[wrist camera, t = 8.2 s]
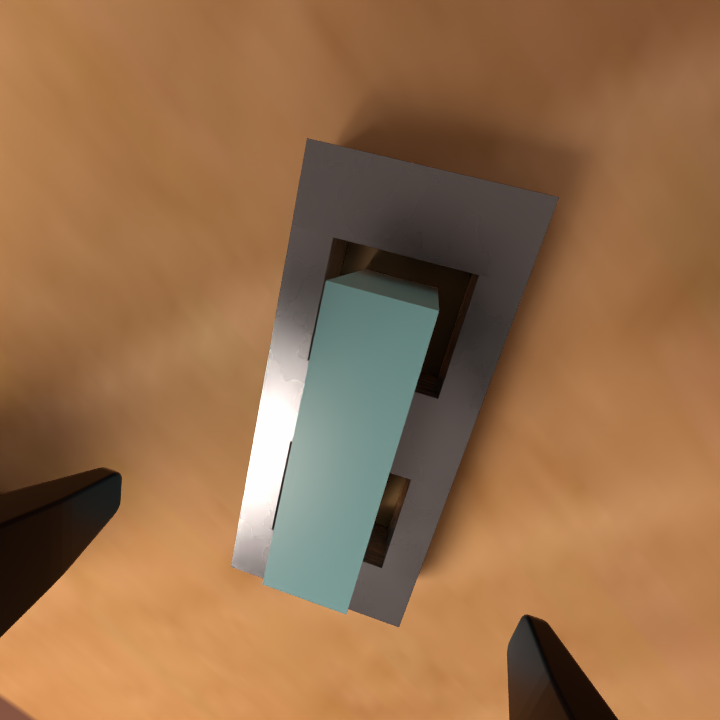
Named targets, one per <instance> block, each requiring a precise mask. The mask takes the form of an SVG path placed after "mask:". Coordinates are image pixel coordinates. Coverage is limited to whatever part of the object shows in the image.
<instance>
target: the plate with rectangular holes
mask: <svg viewBox="0 0 720 720" xmlns="http://www.w3.org/2000/svg"><path fill="white" fill-rule="evenodd" d="M558 199H559V197H556V196H552V195H547V194H543V193H539V192H535V191H530V190H526V189H522V188H518V187H513V186H509V185H505V184H500V183H496V182H492V181H488V180H483V179H479V178H475V177H471V176H466V175H462V174H458V173H453V172H449V171H445V170H441V169H436V168H432V167H428V166H423V165H419V164H415V163H411V162H406V161H402V160H398V159H394V158H389V157H385V156H381V155H376V154H372V153H368V152H364V151H359V150H355V149H351V148H347V147H342V146H338V145H334V144H329V143H325V142H321V141H317V140H312V139H308V138H307V142H306V148H305V154H304V159H303V165H302V170H301V176H300V182H299V187H298V193H297V199H296V204H295V210H294V215H293V221H292V227H291V232H290V238H289V244H288V249H287V255H286V260H285V266H284V272H283V277H282V283H281V289H280V294H279V300H278V305H277V311H276V317H275V322H274V328H273V334H272V339H271V345H270V350H269V356H268V362H267V367H266V373H265V379H264V384H263V390H262V395H261V401H260V407H259V412H258V418H257V424H256V429H255V435H254V441H253V446H252V452H251V457H250V463H249V469H248V474H247V480H246V486H245V491H244V497H243V502H242V508H241V514H240V519H239V525H238V531H237V536H236V542H235V547H234V553H233V559H232V564H231V567H233V568H236V569H239V570H242V571H244V572H247V573H250V574H253V575H256V576H258V577H261V578H264V574H265V569H266V565H267V560H268V555H269V550H270V545H271V541H272V536H273V531H274V526H275V522H276V517H277V512H278V507H279V502H280V498H281V493H282V488H283V483H284V479H285V474H286V469H287V464H288V459H289V455H290V450H291V445H292V440H293V436H294V431H295V426H296V421H297V417H298V412H299V407H300V402H301V397H302V393H303V388H304V383H305V378H306V374H307V369H308V364H309V359H310V354H311V350H312V345H313V340H314V335H315V331H316V326H317V321H318V316H319V311H320V307H321V302H322V297H323V292H324V288H325V283H326V280H329V279H333V278H336V277H340V275H341V271H342V266H343V262H344V257H345V253H346V248H347V244H348V241H349V242H353V243H357V244H361V245H365V246H369V247H372V248H376V249H380V250H384V251H388V252H392V253H396V254H399V255H403V256H407V257H411V258H415V259H419V260H422V261H426V262H430V263H434V264H438V265H442V266H446V267H449V268H453V269H457V270H461V271H465V272H469V273H472V274H471V277H470V280H469V283H468V286H467V289H466V292H465V295H464V298H463V302H462V305H461V308H460V311H459V314H458V317H457V320H456V323H455V326H454V329H453V332H452V335H451V338H450V341H449V344H448V348H447V351H446V354H445V357H444V360H443V363H442V366H441V369H440V372H439V375H438V377H435V376H431V375H428V374H424V373H421V372H420V375H419V378H418V382H417V385H416V388H415V391H414V395H413V398H412V401H411V405H410V408H409V411H408V414H407V418H406V421H405V424H404V427H403V431H402V434H401V437H400V440H399V444H398V447H397V450H396V454H395V457H394V460H393V463H392V467H391V470H390V473H392V474H395V475H398V476H401V477H404V478H405V479H404V483H403V486H402V489H401V492H400V495H399V498H398V501H397V504H396V507H395V510H394V513H393V516H392V519H391V522H390V526H389V528H386V527H383V526H380V525H377V524H374V525H373V529H372V532H371V535H370V539H369V542H368V545H367V548H366V552H365V555H364V558H363V561H362V565H361V568H360V571H359V574H358V578H357V581H356V584H355V588H354V591H353V594H352V597H351V601H350V604H349V607H348V609H350V610H352V611H355V612H358V613H361V614H364V615H366V616H369V617H372V618H375V619H377V620H380V621H383V622H386V623H388V624H391V625H394V626H397V627H399V626H400V623H401V620H402V618H403V615H404V612H405V610H406V607H407V604H408V602H409V599H410V596H411V593H412V591H413V588H414V585H415V583H416V580H417V577H418V575H419V572H420V569H421V567H422V564H423V561H424V559H425V556H426V553H427V551H428V548H429V545H430V542H431V540H432V537H433V534H434V532H435V529H436V526H437V524H438V521H439V518H440V516H441V513H442V510H443V508H444V505H445V502H446V499H447V497H448V494H449V491H450V489H451V486H452V483H453V481H454V478H455V475H456V473H457V470H458V467H459V465H460V462H461V459H462V457H463V454H464V451H465V448H466V446H467V443H468V440H469V438H470V435H471V432H472V430H473V427H474V424H475V422H476V419H477V416H478V414H479V411H480V408H481V405H482V403H483V400H484V397H485V395H486V392H487V389H488V387H489V384H490V381H491V379H492V376H493V373H494V371H495V368H496V365H497V363H498V360H499V357H500V354H501V352H502V349H503V346H504V344H505V341H506V338H507V336H508V333H509V330H510V328H511V325H512V322H513V320H514V317H515V314H516V311H517V309H518V306H519V303H520V301H521V298H522V295H523V293H524V290H525V287H526V285H527V282H528V279H529V277H530V274H531V271H532V268H533V266H534V263H535V260H536V258H537V255H538V252H539V250H540V247H541V244H542V242H543V239H544V236H545V234H546V231H547V228H548V226H549V223H550V220H551V217H552V215H553V212H554V209H555V207H556V204H557V201H558Z"/></svg>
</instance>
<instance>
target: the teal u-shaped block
mask: <svg viewBox="0 0 720 720" xmlns="http://www.w3.org/2000/svg"><path fill="white" fill-rule="evenodd" d="M438 313H439V301H438V288H435V287H432V286H428V285H424V284H420V283H416V282H413V281H409V280H405V279H401V278H397V277H394V276H390V275H386V274H382V273H378V272H374V271H371V270H367V269H363V270H360V271H357V272H353V273H350V274H346V275H343V276H340V277H336V278H333V279H329V280H326V283H325V288H324V292H323V297H322V302H321V307H320V311H319V316H318V321H317V326H316V331H315V335H314V340H313V345H312V350H311V354H310V359H309V364H308V369H307V374H306V378H305V383H304V388H303V393H302V397H301V402H300V407H299V412H298V417H297V421H296V426H295V431H294V436H293V440H292V445H291V450H290V455H289V459H288V464H287V469H286V474H285V479H284V483H283V488H282V493H281V498H280V502H279V507H278V512H277V517H276V522H275V526H274V531H273V536H272V541H271V545H270V550H269V555H268V560H267V565H266V569H265V574H264V579H263V585H266V586H269V587H271V588H274V589H277V590H280V591H283V592H285V593H288V594H291V595H294V596H296V597H299V598H302V599H305V600H308V601H310V602H313V603H316V604H319V605H321V606H324V607H327V608H330V609H333V610H335V611H338V612H341V613H344V614H347V610H348V607H349V604H350V601H351V597H352V594H353V591H354V588H355V584H356V581H357V578H358V574H359V571H360V568H361V565H362V561H363V558H364V555H365V552H366V548H367V545H368V542H369V539H370V535H371V532H372V529H373V525H374V522H375V519H376V516H377V512H378V509H379V506H380V503H381V499H382V496H383V493H384V489H385V486H386V483H387V480H388V476H389V473H390V470H391V467H392V463H393V460H394V457H395V454H396V450H397V447H398V444H399V440H400V437H401V434H402V431H403V427H404V424H405V421H406V418H407V414H408V411H409V408H410V405H411V401H412V398H413V395H414V391H415V388H416V385H417V382H418V378H419V375H420V372H421V369H422V365H423V362H424V359H425V356H426V352H427V349H428V346H429V342H430V339H431V336H432V333H433V329H434V326H435V323H436V320H437V316H438Z"/></svg>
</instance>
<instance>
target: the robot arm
mask: <svg viewBox="0 0 720 720" xmlns="http://www.w3.org/2000/svg"><path fill="white" fill-rule="evenodd" d="M121 484H122V476H121V474H120V473H119V472H117V471H114V470H111V469H108V468H104V467H103V468H97V469H94V470H90V471H86V472H82V473H78V474H75V475H71V476H67V477H63V478H60V479H56V480H52V481H48V482H44V483H41V484H37V485H33V486H29V487H26V488H22V489H18V490H14V491H10V492H7V493H3V494H0V637H1V636H2V635H3V634H4V633H5V632H6V631H7V630H8V629H9V628H10V627H11V626H12V625H13V624H14V623H15V622H16V621H17V620H18V619H19V618H20V617H21V616H22V615H24V614H25V613H26V612H27V611H28V610H29V609H30V608H31V607H32V606H33V605H34V604H35V603H36V602H37V601H38V600H39V599H40V598H41V597H42V596H43V595H44V594H45V593H46V592H47V591H48V590H49V589H50V588H51V587H52V586H53V585H54V584H55V582H56V581H57V580H58V579H59V578H60V577H61V576H62V575H63V574H64V573H65V572H66V571H67V570H68V569H69V567H70V566H71V565H72V564H73V563H74V562H75V560H76V559H77V558H78V557H79V556H80V555H81V553H82V552H83V551H84V550H85V549H86V547H87V546H88V545H89V544H90V543H91V542H92V540H93V539H94V538H95V537H96V536H97V534H98V533H99V532H100V531H101V530H102V529H103V527H104V526H105V525H106V524H107V523H108V521H109V520H110V519H111V518H112V517H113V516H114V514H115V513H116V511H117V510H118V508H119V505H120V500H121ZM507 665H508V693H509V720H618V718H617V717H616V716H615V714H614V713H613V712H612V710H611V709H610V708H609V706H608V705H607V703H606V702H605V701H604V699H603V698H602V697H601V695H600V694H599V692H598V691H597V690H596V688H595V687H594V686H593V684H592V683H591V681H590V680H589V679H588V677H587V676H586V675H585V673H584V672H583V671H582V669H581V668H580V666H579V665H578V664H577V662H576V661H575V660H574V658H573V657H572V655H571V654H570V653H569V651H568V650H567V649H566V647H565V646H564V644H563V643H562V642H561V640H560V639H559V638H558V636H557V635H556V634H555V632H554V631H553V629H552V628H551V627H550V625H549V624H548V623H547V622H546V621H544V620H542V619H539V618H536V617H534V616H531V615H524V616H522V618H521V619H520V621H519V623H518V625H517V627H516V629H515V631H514V633H513V635H512V637H511V639H510V642H509V645H508V650H507Z"/></svg>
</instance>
